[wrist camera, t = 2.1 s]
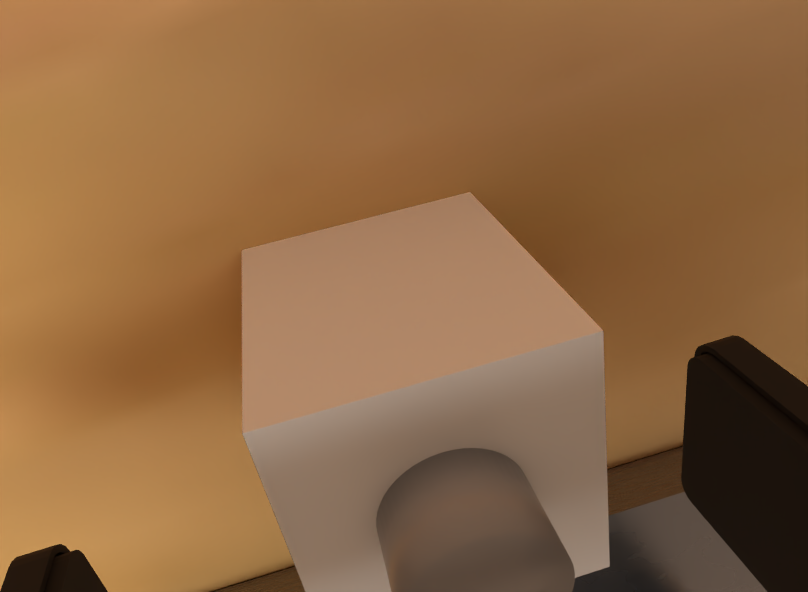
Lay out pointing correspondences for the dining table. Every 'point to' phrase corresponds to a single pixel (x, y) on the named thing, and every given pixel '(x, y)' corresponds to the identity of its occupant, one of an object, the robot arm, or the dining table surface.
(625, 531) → the cylinder on square plate
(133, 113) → the dining table surface
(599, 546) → the white block with knob
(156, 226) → the dining table surface
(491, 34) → the dining table surface
